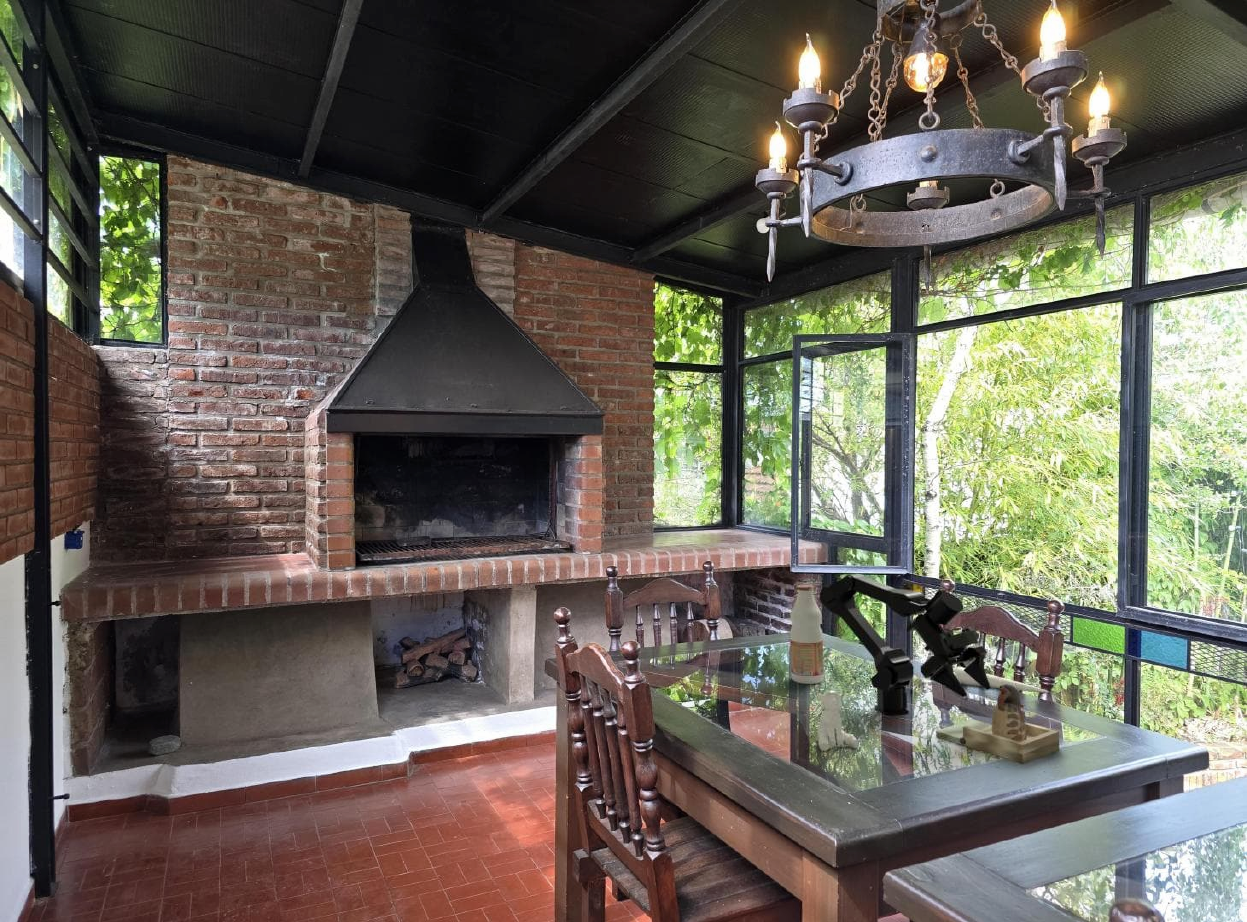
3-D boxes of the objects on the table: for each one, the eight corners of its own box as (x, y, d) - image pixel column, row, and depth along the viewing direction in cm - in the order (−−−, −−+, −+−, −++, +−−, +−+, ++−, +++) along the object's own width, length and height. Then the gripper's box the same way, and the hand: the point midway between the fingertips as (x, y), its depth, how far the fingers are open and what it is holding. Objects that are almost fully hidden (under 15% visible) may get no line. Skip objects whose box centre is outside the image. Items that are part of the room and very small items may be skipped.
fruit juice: (799, 685, 226) (797, 589, 226) (786, 677, 235) (783, 584, 235) (829, 683, 228) (827, 587, 228) (815, 674, 237) (812, 582, 237)
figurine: (1035, 740, 172) (1033, 686, 172) (1010, 745, 170) (1008, 690, 170) (1008, 730, 179) (1007, 678, 179) (984, 735, 176) (983, 682, 176)
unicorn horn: (1047, 697, 210) (1046, 679, 210) (953, 685, 224) (953, 668, 224) (1049, 693, 214) (1049, 675, 214) (957, 681, 228) (957, 664, 228)
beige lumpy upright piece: (821, 752, 174) (819, 698, 174) (804, 739, 183) (803, 687, 183) (860, 748, 176) (858, 695, 176) (842, 735, 184) (840, 684, 184)
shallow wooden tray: (935, 736, 182) (935, 719, 182) (972, 724, 190) (972, 707, 190) (1022, 764, 164) (1022, 745, 164) (1059, 749, 172) (1059, 731, 172)
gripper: (930, 621, 180) (975, 680, 171) (978, 611, 190) (1023, 666, 181) (902, 649, 187) (944, 707, 178) (950, 638, 197) (992, 692, 188)
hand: (977, 692), depth 181 cm, fingers open, 9 cm apart
